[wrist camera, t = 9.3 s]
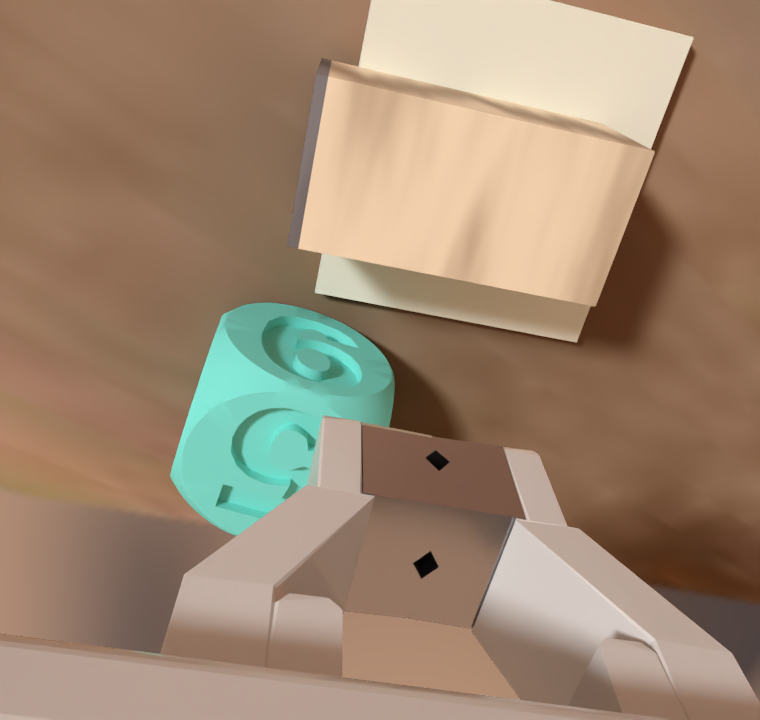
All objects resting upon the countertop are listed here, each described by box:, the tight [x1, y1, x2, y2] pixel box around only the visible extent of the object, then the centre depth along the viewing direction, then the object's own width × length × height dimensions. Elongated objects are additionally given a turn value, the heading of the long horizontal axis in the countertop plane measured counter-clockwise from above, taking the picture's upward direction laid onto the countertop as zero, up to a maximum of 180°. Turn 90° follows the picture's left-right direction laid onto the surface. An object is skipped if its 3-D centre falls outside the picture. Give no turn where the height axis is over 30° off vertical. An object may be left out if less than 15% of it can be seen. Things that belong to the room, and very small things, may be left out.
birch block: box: [287, 58, 655, 307], centre depth 28 cm, size 6×6×12 cm
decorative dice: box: [170, 303, 395, 536], centre depth 33 cm, size 8×8×8 cm
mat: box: [315, 0, 694, 343], centre depth 32 cm, size 13×14×1 cm
